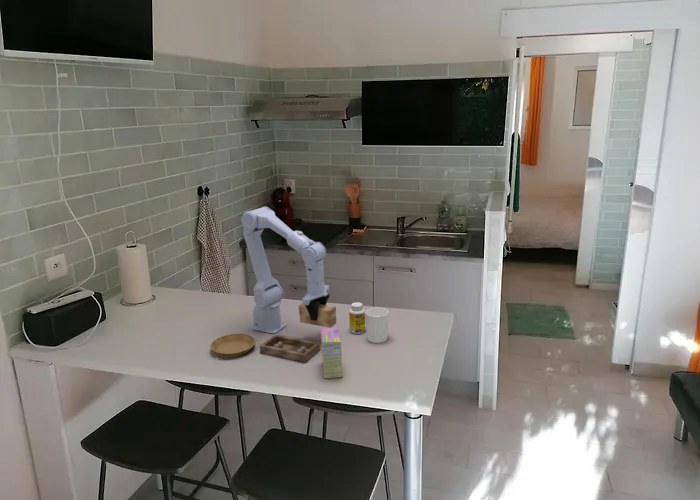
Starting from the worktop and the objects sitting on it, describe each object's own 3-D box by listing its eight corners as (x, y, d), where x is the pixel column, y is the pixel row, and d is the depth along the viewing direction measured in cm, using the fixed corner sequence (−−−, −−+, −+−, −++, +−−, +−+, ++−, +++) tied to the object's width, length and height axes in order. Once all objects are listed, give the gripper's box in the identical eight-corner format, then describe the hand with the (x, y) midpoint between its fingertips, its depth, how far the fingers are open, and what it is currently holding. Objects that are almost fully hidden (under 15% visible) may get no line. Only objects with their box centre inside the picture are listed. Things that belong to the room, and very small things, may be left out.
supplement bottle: (355, 335, 187) (354, 308, 184) (346, 330, 191) (345, 303, 189) (368, 331, 190) (367, 304, 187) (359, 326, 194) (358, 300, 191)
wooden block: (299, 322, 183) (298, 305, 182) (306, 317, 187) (305, 301, 185) (330, 327, 178) (329, 311, 176) (336, 323, 182) (335, 306, 180)
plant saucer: (265, 345, 183) (264, 338, 182) (236, 364, 170) (235, 356, 170) (231, 337, 190) (230, 330, 189) (201, 355, 177) (201, 347, 177)
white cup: (392, 336, 186) (391, 309, 183) (384, 345, 179) (383, 317, 176) (371, 332, 189) (370, 306, 186) (362, 341, 182) (361, 314, 180)
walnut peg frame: (260, 353, 177) (259, 345, 176) (276, 341, 185) (275, 334, 184) (305, 363, 169) (304, 355, 168) (320, 350, 177) (319, 343, 176)
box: (322, 362, 169) (320, 328, 166) (340, 361, 170) (338, 326, 166) (323, 379, 159) (321, 342, 156) (342, 377, 160) (341, 341, 156)
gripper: (314, 288, 170) (316, 327, 174) (336, 274, 183) (337, 311, 186) (295, 285, 173) (298, 324, 177) (318, 271, 186) (320, 308, 190)
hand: (317, 317), depth 182 cm, fingers closed on wooden block, 4 cm apart
